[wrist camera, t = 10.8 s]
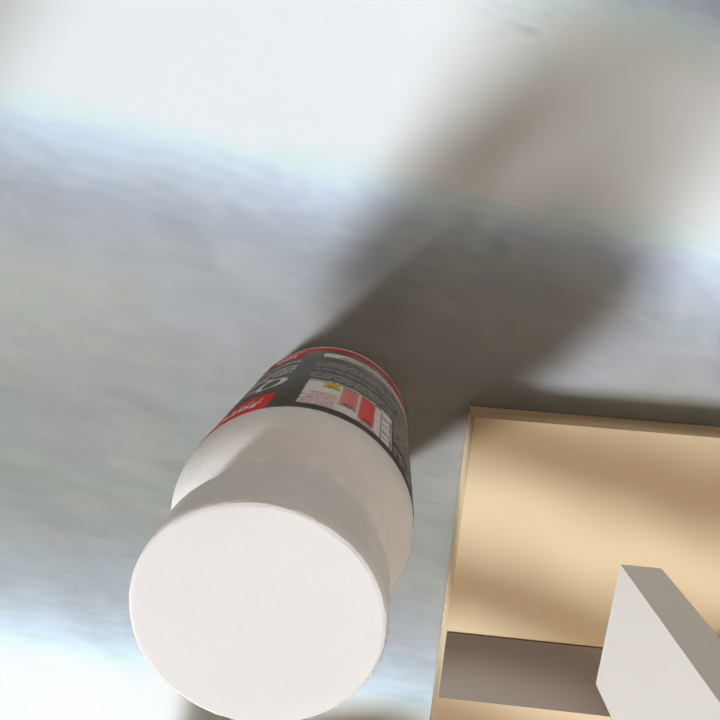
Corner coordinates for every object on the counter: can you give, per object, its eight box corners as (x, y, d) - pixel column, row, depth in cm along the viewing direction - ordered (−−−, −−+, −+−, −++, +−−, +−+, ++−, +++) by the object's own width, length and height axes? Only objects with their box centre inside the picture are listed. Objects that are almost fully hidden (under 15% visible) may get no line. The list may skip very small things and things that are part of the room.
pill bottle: (284, 318, 18) (153, 412, 8) (432, 381, 18) (480, 548, 8) (231, 455, 19) (64, 679, 9) (369, 513, 19) (345, 790, 9)
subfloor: (469, 405, 18) (474, 417, 17) (878, 440, 17) (915, 455, 16) (427, 737, 21) (429, 767, 20) (765, 776, 21) (788, 809, 20)
